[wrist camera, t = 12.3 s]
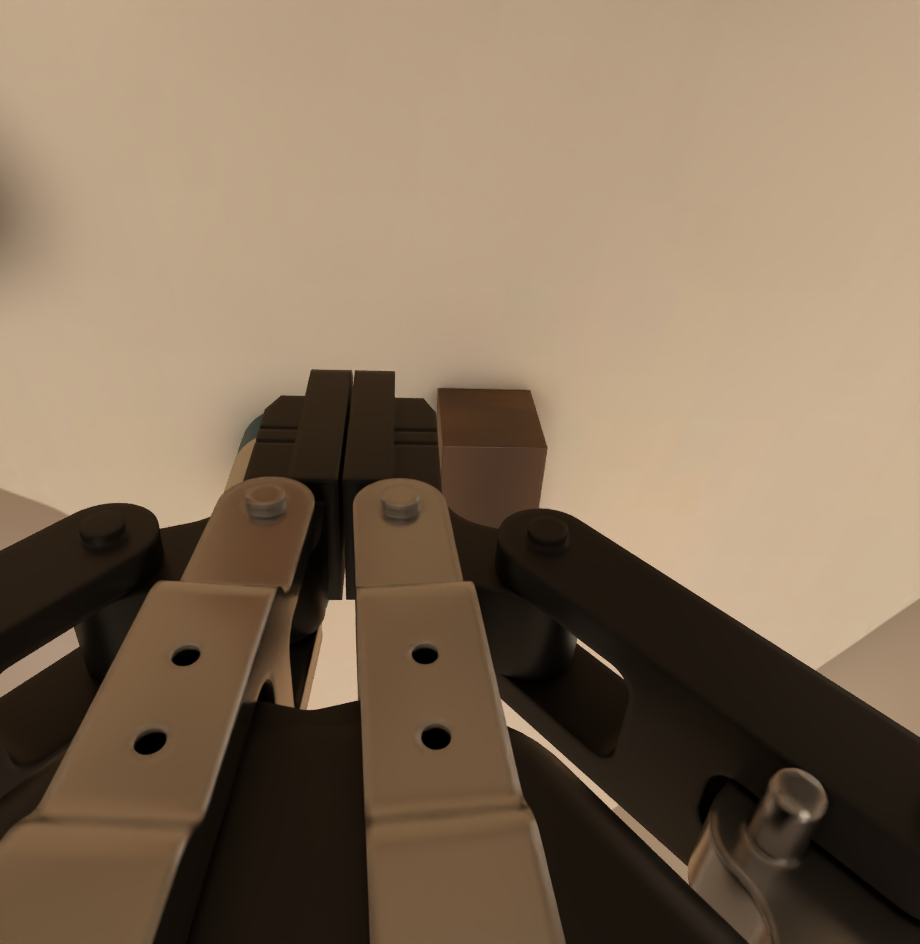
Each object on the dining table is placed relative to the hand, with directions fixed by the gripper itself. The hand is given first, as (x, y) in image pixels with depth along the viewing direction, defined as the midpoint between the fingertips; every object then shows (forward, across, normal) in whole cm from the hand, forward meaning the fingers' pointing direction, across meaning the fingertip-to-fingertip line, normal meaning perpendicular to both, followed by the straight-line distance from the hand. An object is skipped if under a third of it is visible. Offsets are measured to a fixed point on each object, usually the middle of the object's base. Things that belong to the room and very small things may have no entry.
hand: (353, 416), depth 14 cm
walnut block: (+31, -6, +20) cm, 38 cm away
